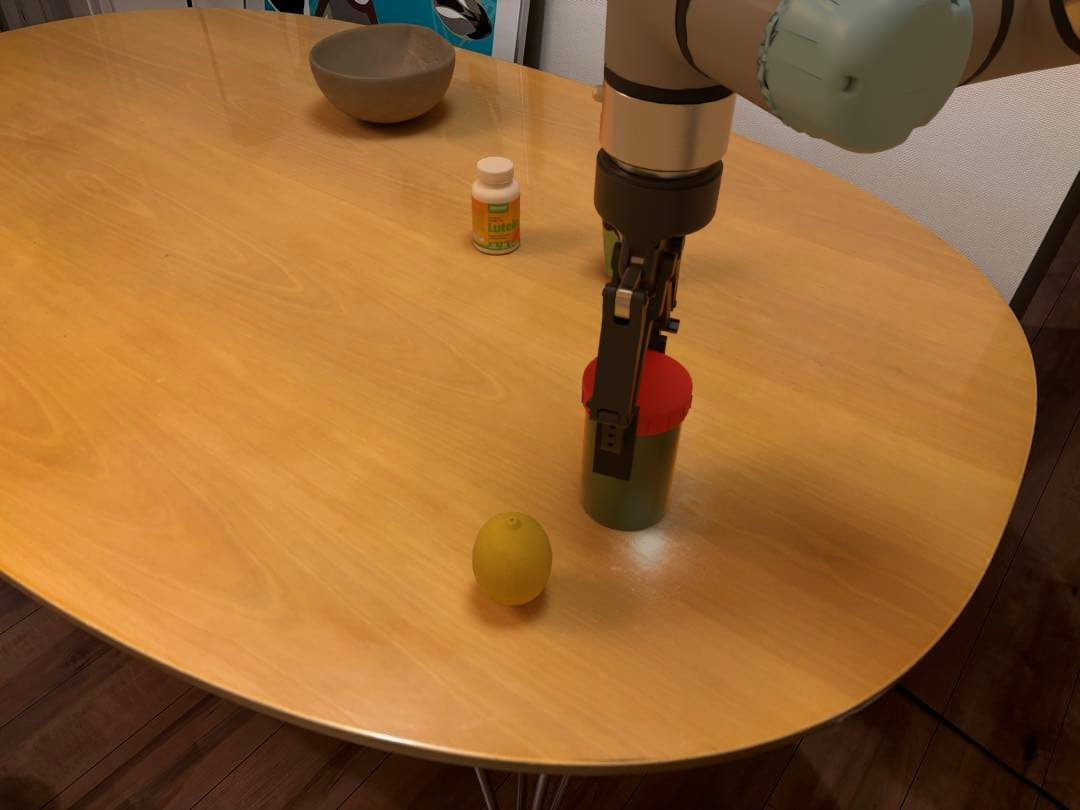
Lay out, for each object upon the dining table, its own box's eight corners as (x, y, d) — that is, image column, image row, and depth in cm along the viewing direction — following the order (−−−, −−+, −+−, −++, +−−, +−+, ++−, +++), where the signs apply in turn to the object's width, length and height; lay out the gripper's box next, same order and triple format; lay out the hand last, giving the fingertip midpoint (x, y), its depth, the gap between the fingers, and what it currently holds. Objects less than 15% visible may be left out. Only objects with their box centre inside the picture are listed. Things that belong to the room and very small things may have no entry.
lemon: (565, 587, 64) (569, 511, 59) (522, 641, 61) (523, 565, 55) (503, 554, 66) (501, 478, 61) (458, 604, 63) (452, 528, 58)
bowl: (289, 118, 128) (277, 47, 122) (393, 80, 140) (387, 13, 134) (383, 157, 118) (375, 83, 112) (487, 113, 130) (485, 43, 124)
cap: (712, 403, 64) (716, 384, 63) (637, 451, 60) (639, 432, 59) (633, 353, 69) (635, 334, 68) (559, 395, 65) (559, 376, 63)
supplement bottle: (486, 260, 99) (484, 179, 92) (464, 239, 102) (461, 159, 96) (528, 248, 101) (529, 168, 95) (505, 227, 104) (504, 149, 98)
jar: (670, 534, 68) (689, 422, 61) (577, 527, 68) (584, 415, 61) (668, 469, 74) (685, 359, 66) (581, 463, 74) (588, 353, 67)
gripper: (640, 81, 60) (614, 347, 75) (544, 220, 45) (535, 519, 60) (750, 97, 59) (701, 367, 74) (688, 248, 44) (642, 548, 59)
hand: (626, 435), depth 67 cm, fingers closed on cap, 8 cm apart
